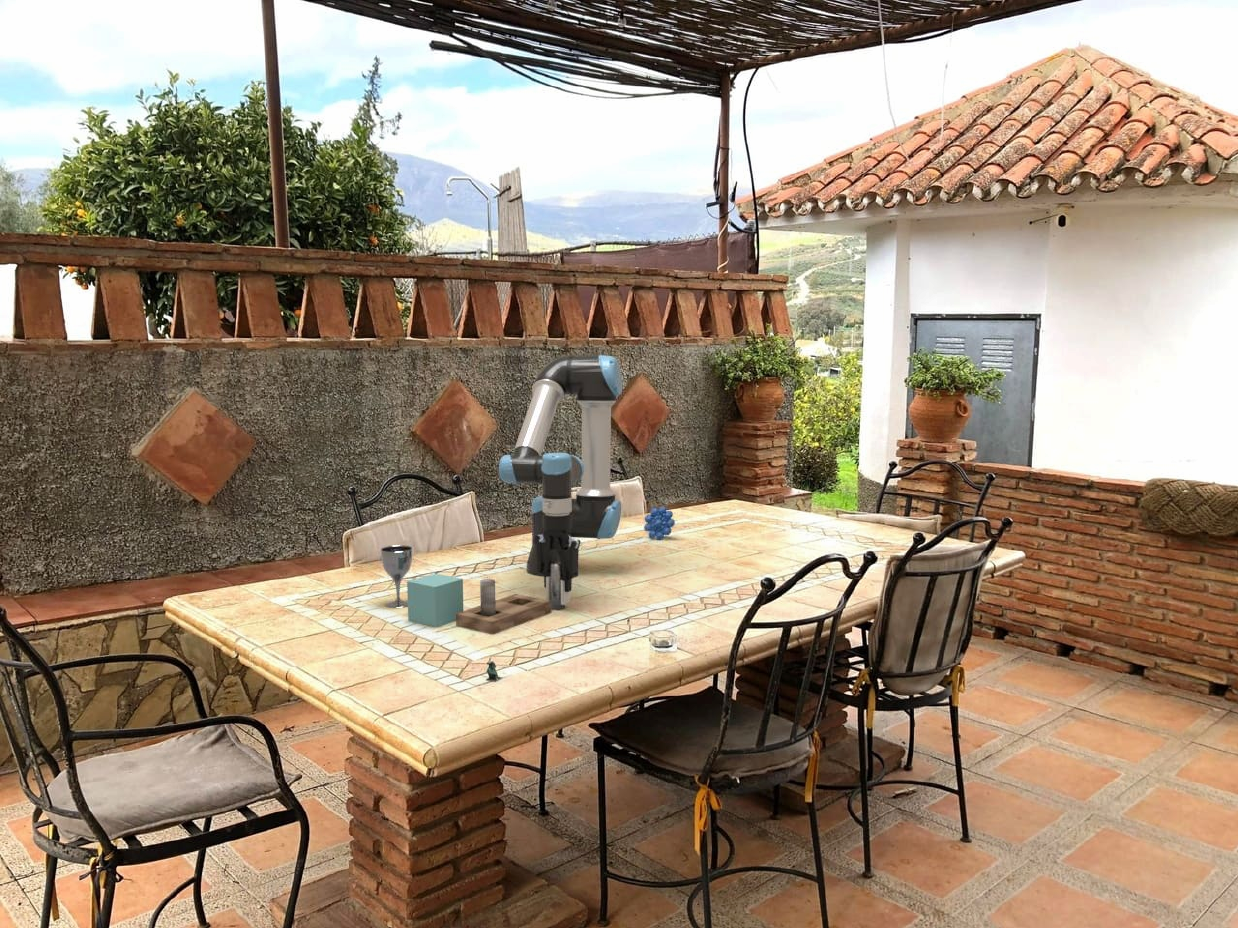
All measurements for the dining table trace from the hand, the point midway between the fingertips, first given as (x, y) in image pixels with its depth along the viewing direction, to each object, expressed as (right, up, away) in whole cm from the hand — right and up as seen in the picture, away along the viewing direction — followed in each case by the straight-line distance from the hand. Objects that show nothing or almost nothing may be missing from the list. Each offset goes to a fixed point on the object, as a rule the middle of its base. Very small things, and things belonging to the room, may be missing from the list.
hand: (557, 601), depth 243 cm
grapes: (+30, +9, +86) cm, 91 cm away
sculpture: (-10, -9, -51) cm, 53 cm away
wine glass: (-42, -1, +4) cm, 43 cm away
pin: (0, -2, 0) cm, 2 cm away
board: (-13, -3, -9) cm, 16 cm away
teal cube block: (-30, -3, -9) cm, 31 cm away
